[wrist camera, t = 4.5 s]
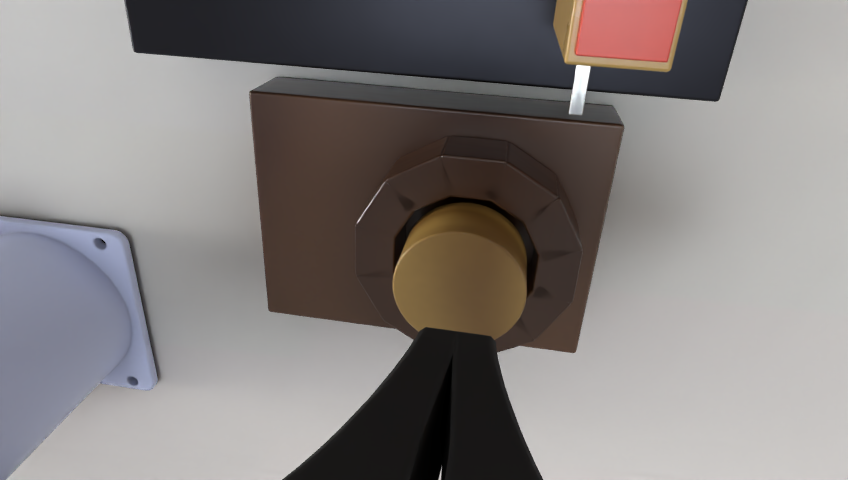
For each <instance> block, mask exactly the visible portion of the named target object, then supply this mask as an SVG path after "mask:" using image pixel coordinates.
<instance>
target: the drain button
mask: <svg viewBox="0 0 848 480" xmlns="http://www.w3.org/2000/svg"><path fill="white" fill-rule="evenodd" d="M393 294H394V298H395V301H396V304H397V306H398V308H399V310H400V312H401V314H402V315H403V317H404V318H405V319H406V320H407V322H408V323H409V324H410V325H411V326H412V327H413V328H415V329H416V330H417V331H418V332H419V331H420V330H422V329H423V328H425V327H430V328H437V329H444V330H452V331H459V332H466V333H473V334H480V335H488V336H491V337H492V338H493V339H494V340H495V339H497V338H499V337H501V336H502V335H503V334H505V333H506V332H508V331H509V330H510V329H511V328H512V327H513V326H514V325H515V323H516V322H517V321H518V319H519V318H520V316H521V314H522V312H523V310H524V307H525V303H526V297H527V254H526V248H525V244H524V242H523V239H522V237H521V235H520V233H519V232H518V230H517V229H516V227H515V226H514V225H513V224H512V223H511V222H510V221H509V220H508V219H507V218H506V217H504V216H503V215H502V214H500V213H499V212H497V211H495V210H493V209H491V208H489V207H486V206H483V205H479V204H474V203H464V202H461V203H451V204H446V205H443V206H440V207H437V208H435V209H433V210H431V211H429V212H428V213H426V214H425V215H424V216H423V217H421V218H420V219H419V220H418V221H417V223H416V224H415V225H414V226H413V228H412V230H411V231H410V233H409V236H408V238H407V240H406V243H405V245H404V248H403V250H402V253H401V255H400V258H399V260H398V263H397V265H396V267H395V271H394V275H393Z"/></svg>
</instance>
